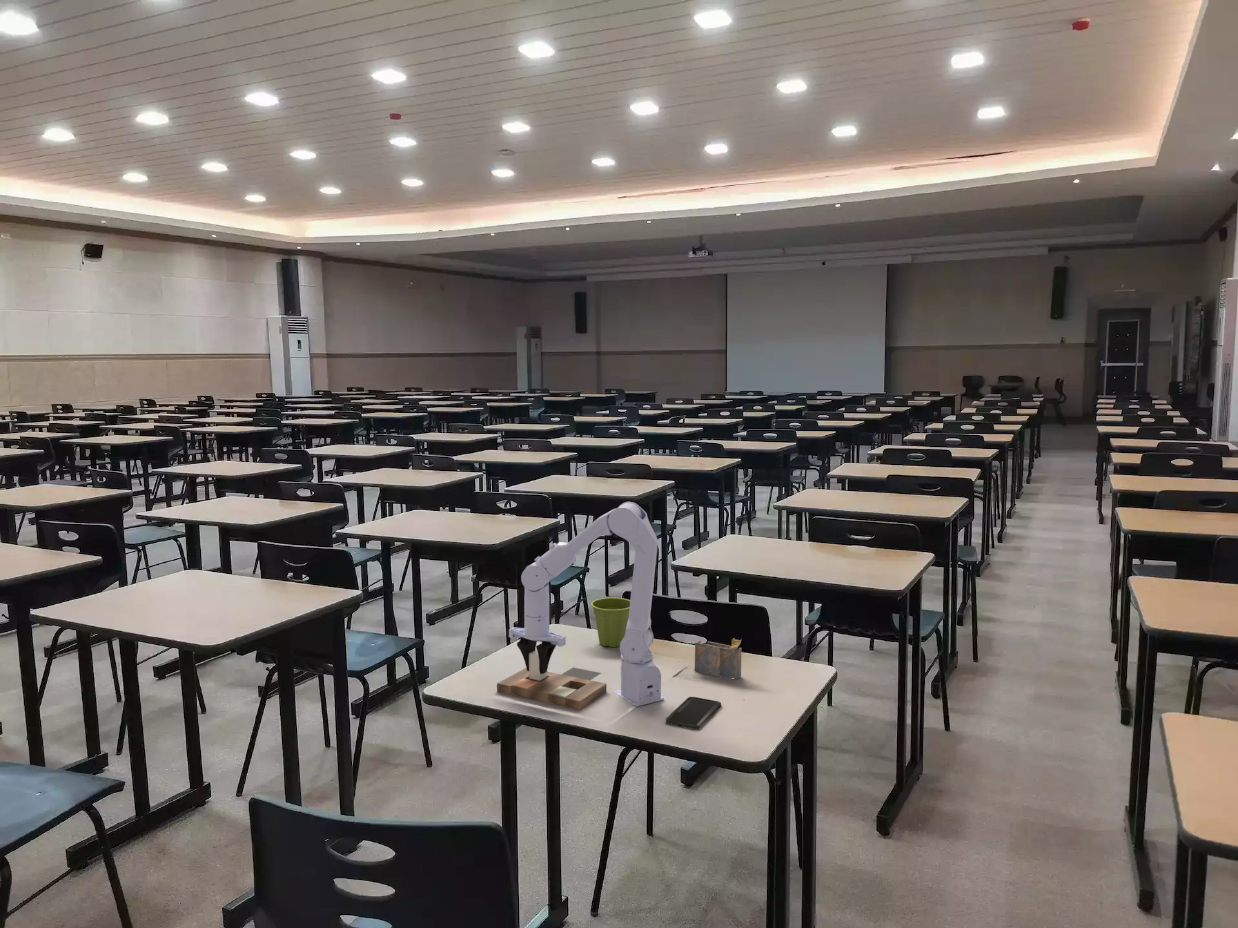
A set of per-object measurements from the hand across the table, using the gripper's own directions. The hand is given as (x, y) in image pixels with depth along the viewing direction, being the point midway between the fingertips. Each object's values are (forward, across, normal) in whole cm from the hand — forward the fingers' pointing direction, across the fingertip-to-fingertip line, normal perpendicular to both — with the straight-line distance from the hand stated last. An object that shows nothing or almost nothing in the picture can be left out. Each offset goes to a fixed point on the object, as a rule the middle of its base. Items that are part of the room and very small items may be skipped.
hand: (537, 671), depth 196 cm
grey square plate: (+4, -5, -10) cm, 12 cm away
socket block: (+4, -5, +2) cm, 7 cm away
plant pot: (+4, 0, -37) cm, 38 cm away
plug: (+2, 0, 0) cm, 2 cm away
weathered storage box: (+5, -33, -30) cm, 45 cm away
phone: (+5, -38, -4) cm, 38 cm away
